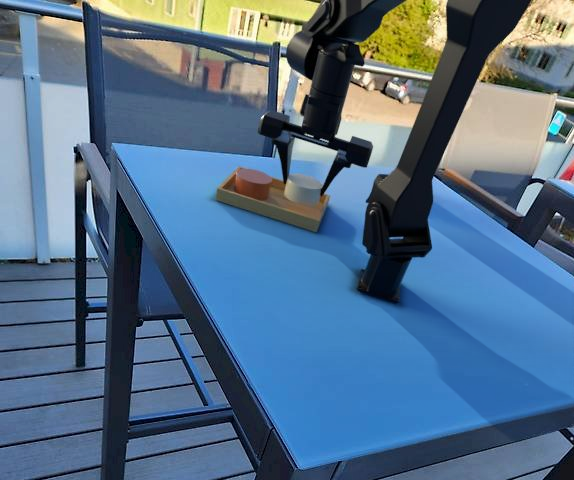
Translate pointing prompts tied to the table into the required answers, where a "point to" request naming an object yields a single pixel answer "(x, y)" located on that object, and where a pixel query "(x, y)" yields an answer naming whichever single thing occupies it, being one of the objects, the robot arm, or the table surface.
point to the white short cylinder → (303, 189)
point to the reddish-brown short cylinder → (253, 184)
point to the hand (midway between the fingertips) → (303, 189)
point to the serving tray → (274, 204)
